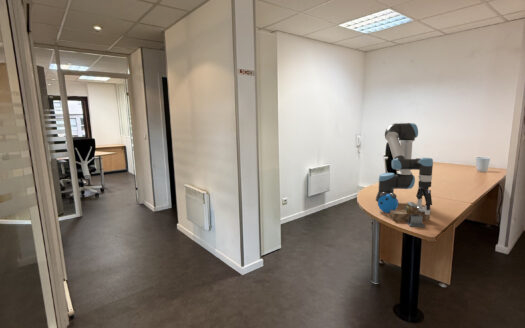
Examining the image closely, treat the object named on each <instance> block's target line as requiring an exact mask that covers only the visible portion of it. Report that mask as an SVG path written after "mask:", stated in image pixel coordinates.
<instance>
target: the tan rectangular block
mask: <svg viewBox="0 0 525 328" xmlns="http://www.w3.org/2000/svg"><path fill="white" fill-rule="evenodd" d="M404 210H405V212H406V213H410V206H407V205H405V206H404Z"/></svg>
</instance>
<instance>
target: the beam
mask: <svg viewBox="0 0 525 328" xmlns="http://www.w3.org/2000/svg"><path fill="white" fill-rule="evenodd" d="M406 203H407V204H406V206H410V213H406V212H405V209H395V210H390V213H389V218H390V219H392V221H397V222H406V221H409V215H421V217H423V219H422V221H430V220H431V219H430V218H431V214H430V215H425V213H417V210H418V206H417V203H415V202H414V201H407V202H406Z"/></svg>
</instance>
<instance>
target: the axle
mask: <svg viewBox="0 0 525 328" xmlns="http://www.w3.org/2000/svg"><path fill="white" fill-rule="evenodd" d="M417 213H425V206H422V207H418V210H417ZM430 213H431V208H430Z"/></svg>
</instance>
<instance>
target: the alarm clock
mask: <svg viewBox="0 0 525 328" xmlns="http://www.w3.org/2000/svg"><path fill="white" fill-rule="evenodd" d="M380 196H382V197H380V198H379V200H378V201H377V206H378V208H379V209H380V210H381V211H382V212H384V213H386V214H387V213H388V214H390V210H398V209H397V208H398V206H399V199H398V198H397V194H396V193H391V194H389V193H388V194H387V193H386V192H382V193H381V194H380Z"/></svg>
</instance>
